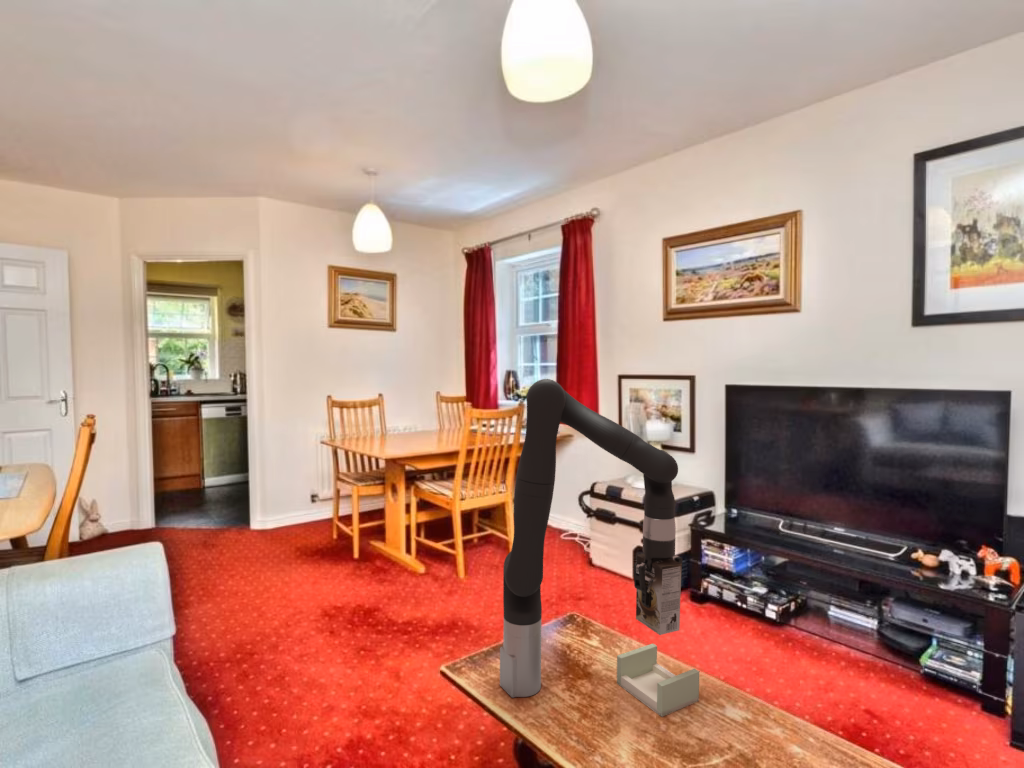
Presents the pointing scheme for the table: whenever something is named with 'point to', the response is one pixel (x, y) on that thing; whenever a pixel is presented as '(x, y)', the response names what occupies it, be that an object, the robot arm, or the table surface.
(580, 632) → the table surface
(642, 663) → the caddy
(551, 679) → the table surface
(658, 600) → the coffee box
